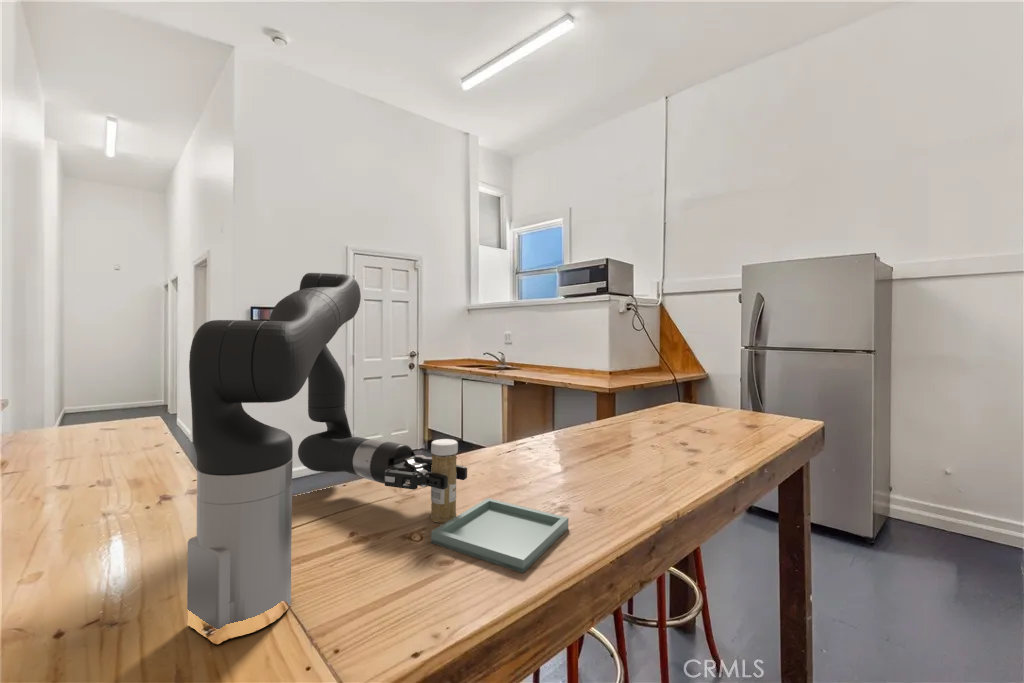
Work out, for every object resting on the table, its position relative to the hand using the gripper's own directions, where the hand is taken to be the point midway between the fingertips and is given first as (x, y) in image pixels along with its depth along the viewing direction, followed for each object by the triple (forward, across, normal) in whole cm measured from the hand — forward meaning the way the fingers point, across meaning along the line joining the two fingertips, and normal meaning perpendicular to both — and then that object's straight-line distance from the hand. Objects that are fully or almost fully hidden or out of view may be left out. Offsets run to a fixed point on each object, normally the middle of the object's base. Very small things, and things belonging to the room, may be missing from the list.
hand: (456, 478), depth 75 cm
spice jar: (-3, 0, +8) cm, 8 cm away
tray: (+9, 0, +8) cm, 12 cm away
